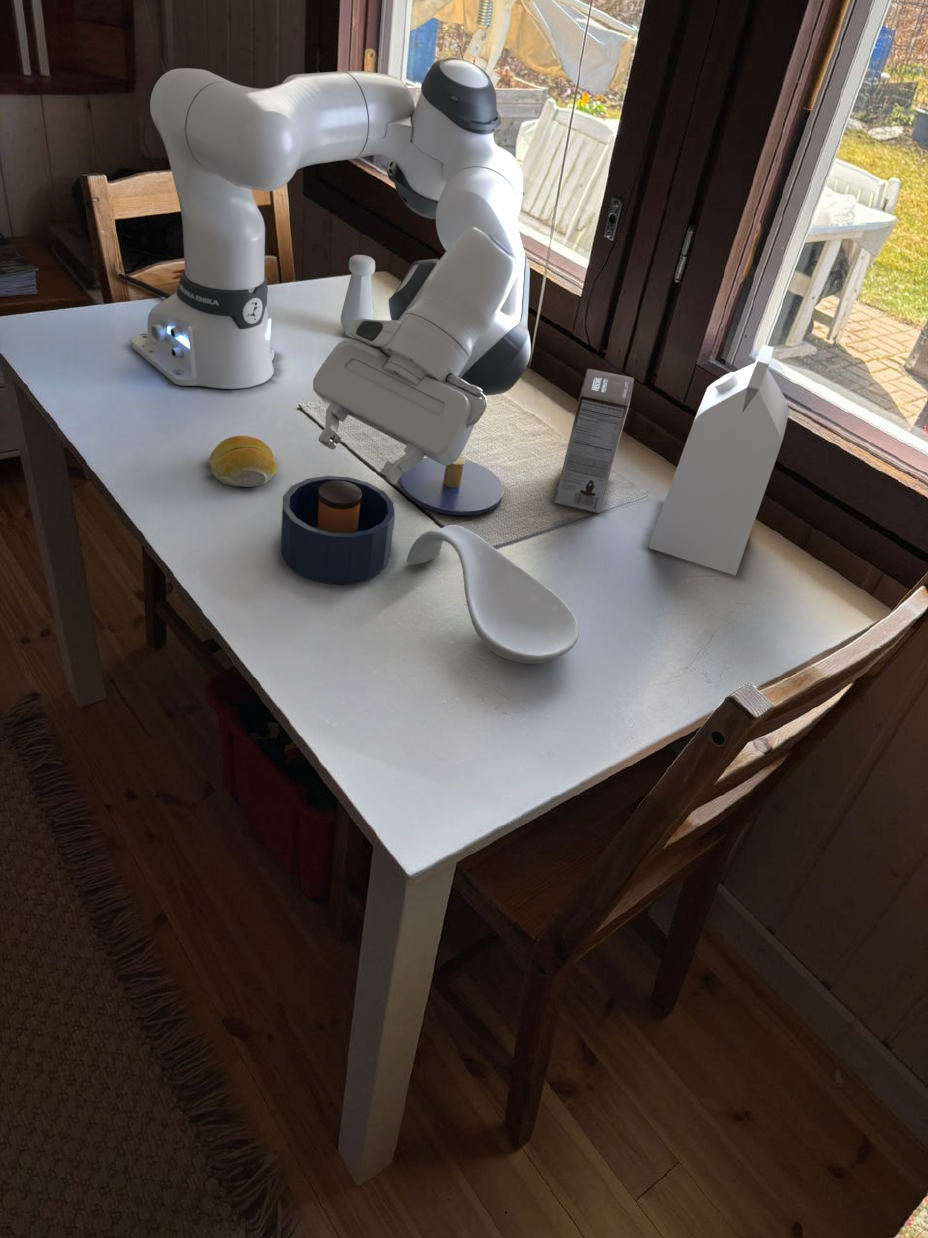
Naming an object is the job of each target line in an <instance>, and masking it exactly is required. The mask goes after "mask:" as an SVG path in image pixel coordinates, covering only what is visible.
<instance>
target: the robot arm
mask: <svg viewBox="0 0 928 1238" xmlns="http://www.w3.org/2000/svg"><path fill="white" fill-rule="evenodd" d="M420 86H421V87H420V89H421V92H420V94H419V96H418V99H417V101H416V103H415V101H414V99H413V96H412V93H411V91H410V90H409V87H408V86H407V85H406V84H405V83H404V82H403V81H402V80H401V79H399V78H397V77H396V76H394V75H391V74H385V73H380V72H375V71H374V72H373V71H364V70H338V71H327V72H326V71H325V72H310V73H296V74H292V75H289V76H287V77H286V78H285V79H284V80H283V81H282V83H280V84H278V85H274V86H272V87H267V88H258V87H257V88H256V87H250V86H246V85H241V84H238V83H235V82H232V81H230V80H228V79H226V78H224V77H222V76H220V75H218V74H215V73H213V72H211V71H209V70H206V69H201V68H189V67H187V68H174V69H171V70H169V71H167V72H165V73H164V74H163V75H161V76H160V77H159V78H158V80H157V81H156V83H155V85H154V86H153V89H152V92H151V94H150V95H151V96H150V101H149V107H150V115H151V118H152V122H153V125H154V126H155V128H156V130H157V132H158V134H159V136H160V137H161V140H162V142H163V146H164V149H165V152H166V155H167V159H168V163H169V166H170V171H171V175H172V179H173V181H174V186H175V190H176V194H177V199H178V204H179V208H180V214H181V222H182V223H181V224H182V235H183V236H182V237H183V238H182V241H183V259H184V260H183V262H184V263H183V264H184V268H183V269H178V270H174V271H172V272H171V274H175V275H174V276H172V280H179V281H178V285H177V289H176V292H174V293H173V294H170V293H169V292H166V291H164V290H162V289H159V288H157V287H155V286H153V285H151V284H148V283H147V282H144V281H142V280H140V279H137V278H134V277H132V276H130V275H128V274H126V275H125V276H124V275H122V274H119V275H117V276H118V277H119V278H121V279H122V280H124V281H126V282H129V283H131V284H133V285H135V286H138V287H140V288H142V289H145V290H147V291H149V292H151V293H153V294H156V295H158V296H160V297H163V298H164V300H162V301H160V302H159V303H157V304H156V305H154V306H153V307H152V308H151V309H150V311H149V313H148V317H147V331H144V332H142V333H140V334H138V335H136V337H134V338H133V339H132V340H131V348H132V349H133V350H134V351H135V352H137V353H138V354H139V355H140V356H141V357H143V358H144V359H145V360H146V361H147V362H148V363H150V364H151V365H152V366H153V367H154V368H156V370H157V371H159V372H160V373H161V374H163V375H164V376H165V377H166V378H168V380H169V381H170V382H172V383H173V384H175V385H176V386H182V387H190V386H191V387H195V386H198V387H205V388H206V387H207V388H213V389H222V390H223V389H224V390H236V389H246V388H252V387H256V386H259V385H262V384H263V383H266V382H267V381H269V380H270V379H271V378H272V377H273V375H274V373H275V368H274V363H273V360H274V359H275V349H274V348H272V347H271V328H272V327H271V326H272V318H269V314H268V308H267V305H268V293H269V286H268V279H267V276H265V264H266V263H265V262H266V261H265V258H266V225H265V220H264V218H263V215H262V213H261V211H260V208H259V207H258V205H257V203H256V200H255V197H254V195H253V191H260V192H272V191H273V192H274V191H276V190H280V189H281V188H283V187H284V186H286V185H287V184H288V183H289V182H290V181H291V179H292V178H293V177H294V175H295V173H296V172H297V171H298V170H300V169H302V168H305V167H309V166H313V165H318V164H326V163H332V162H338V161H346V160H347V161H348V160H354V159H359V158H365V157H371V156H381V157H384V158H386V159H389V161H388V162H387V165H386V174H387V177H388V179H389V180H390V182H392V183H393V184H394V188H395V191H396V193H397V195H398V196H399V197H400V199H401V200H402V201H403V202H404V204H405V205H406V207H407V208H408V209H409V210H411V211H412V212H414V213H415V214H417V215H418V216H420V217H424V218H427V219H430V220H435V229H436V233H437V236H438V239H439V241H440V244H441V245H442V247H443V249H444V251H445V252H444V253H443V255H442V256H441V257H440V259H439V258H430V259H421V260H415V261H413V262H412V263H411V264H410V266H409V268H408V270H407V272H406V273H405V275H404V277H403V279H402V280H401V282H400V284H399V285H398V287H397V288H396V290H395V292H393V294H392V296H390V297H389V298H388V308H389V315H390V319H389V320H387V319H385V320H384V319H383V320H382V319H374V320H371V319H357V320H355V321H354V322H353V324H352V325H351V327H350V330H349V332H350V334H351V336H352V337H353V338H351V337H348V338H345V339H343V340H340V342H339V343H337V344H336V346H335V347H334V348H333V349H332V350H331V351H330V353H329V354H328V356H327V357H326V358H325V360H324V361H323V363H322V364H321V366H320V367H319V369H318V370H317V372H316V373H315V375H314V377H313V379H312V390H313V392H314V393H315V394H316V395H317V396H318V398H320V399H321V400H322V401H323V402H324V403H326V404H328V407H327V408H326V411H325V422H324V429H323V430H322V432H321V433H320V435H319V436H318V442H319V443H321V444H322V445H323V446H324V447H326V448H327V449H329V450H332V451H333V450H335V449H336V448H337V446H338V444H339V443H340V442H341V440H342V437H341V435H339V434H338V431H339V427H340V426H339V425H340V422H342V423H343V422H345V421H346V419H347V418H348V416H350V417H352V418H353V419H356V420H358V421H359V422H361V423H363V424H365V425H367V426H369V427H371V428H373V429H374V430H376V431H378V432H381V434H384V435H386V436H388V437H390V438H391V439H393V440H395V441H397V442H399V443H400V444H403V445H405V447H404V449H403V452H404V453H405V454H404V455H402V456H400V457H399V458H398V459H396V460H395V461H393V462H391V461H389V460H386V462H385V463H384V465H383V467H382V468H381V469H380V471H379V475H380V477H381V478H383V480H385V481H387V482H388V483H391V484H392V485H396V484H397V483H398V481H400V476H401V475H402V473H403V472H406V471H408V470H409V469H411V468H413V467H415V466H416V465H418V464H420V462H421V461H422V459H423V458H425V457H426V458H428V457H429V458H431V459H433V460H434V461H436V462H438V463H440V464H442V465H444V466H447V465H450V464H452V463H454V462H456V461H457V459H458V458H459V456H460V457H461V454H462V452H463V451H464V449H465V447H466V445H467V443H468V441H469V439H470V437H471V435H472V432H473V430H474V427H475V425H476V424H477V423H478V422H479V421H480V420H481V418H482V416H483V415H484V413H485V411H486V410H487V407H488V406H487V405H488V401H487V396H496V395H501V394H505V393H507V392H508V391H509V390H511V389H512V388H513V387H514V386H515V385H516V384H517V382H518V381H520V379H521V377H522V376H523V374H524V373H525V370H526V368H527V366H528V364H529V362H530V358H531V352H532V349H531V348H532V346H531V336H530V331H529V328H528V317H529V300H530V280H531V279H530V277H531V269H530V262H529V260H528V256H527V253H526V252H525V249H524V245H523V242H522V238H521V234H520V229H519V223H518V220H519V215H520V212H521V208H522V202H523V196H524V195H523V194H524V179H523V178H524V176H523V171H522V168H521V165H520V164H519V161H518V160H517V159H516V157H515V156H514V155H513V154H512V153H511V152H510V151H508V150H507V149H505V148H503V147H501V146H499V145H498V144H497V143H496V141H495V138H494V132H495V131H496V128H498V127H500V126H501V124H502V118H501V116H500V113H499V111H498V104H497V103H498V101H497V93H496V89H495V86H494V83H493V82H492V79H491V77H490V76H489V74H488V73H487V72H486V71H485V70H484V69H483V68H481V67H480V66H479V65H477V64H475V63H473V62H471V61H469V60H466V59H462V58H459V57H458V58H457V57H445V58H442V59H440V60H437V61H435V62H433V64H432V65H431V66H430V68H429V70H428V71H427V72H426V75H425V77H424V78H423V81H422V83H421V85H420Z"/></svg>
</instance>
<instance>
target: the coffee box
mask: <svg viewBox="0 0 928 1238" xmlns="http://www.w3.org/2000/svg"><path fill="white" fill-rule="evenodd" d="M634 382H635V378H634V377H631V376H626V375H622V374H616V373H612V372H608V371H601V370H598V369H592V368H587V370H586V373H585V377H584V380H583V383H582V387H581V390H580V395H579V397H578V403H577V407H576V411H575V415H574V419H573V423H572V427H571V431H570V432H571V433H570V436H569V440H568V444H567V447H566V451H565V456H564V459H563V460H564V461H563V465H562V470H561V473H560V477H559V481H558V486H557V491H556V495H555V500H554V503H555V504H558V505H563V506H566V507H570V508H575V509H579V510H583V511H589V512H593V513H597V514H598V513H600V511H601V508H602V507H601V506H602V503H603V500H604V497H605V493H606V489H607V486H608V483H609V479H610V475H611V472H612V469H613V466H614V462H615V458H616V455H617V451H618V447H619V445H620V441H621V437H622V434H623V429H624V426H625V422H626V419H627V415H628V411H629V407H630V404H631V399H632V393H633V388H634Z"/></svg>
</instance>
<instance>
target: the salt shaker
mask: <svg viewBox="0 0 928 1238" xmlns="http://www.w3.org/2000/svg"><path fill="white" fill-rule="evenodd" d="M348 270H349V272H351V274H350V278H349V282H348V286H347V290H346V293H345V297H344V302H343V306H342V309H341V313H340V325H341V327H342V330H343V331H344V334H345V336H346V337H348V338H353V337H352V336H351V334H350V332H349V330H350V327H351V325H352V324H353V322H354V321H355V320H357V319H371V320H375V310H374V298H373V295H374V294H373V285H372V284H373V283H372V275H374V274H375V272H376V261H375V260H374V258H373V257H371V256H368V255H366V254H354V255H352V256H351V257H349V261H348ZM353 339H354V338H353Z"/></svg>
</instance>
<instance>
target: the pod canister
mask: <svg viewBox="0 0 928 1238" xmlns="http://www.w3.org/2000/svg"><path fill="white" fill-rule="evenodd" d="M318 497H319V509H318V525H317V529H320V530H324V531H328V532H335V533H354V532H357V530H358V519H359V509H360V502H361V497H362V492H361V490H360V489H359V488H358V487H357V486H356V485H354V484H352V483H349V482H346V481H330V482H326V483H324V484H322V485H321V486H320V488H319V494H318Z"/></svg>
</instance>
